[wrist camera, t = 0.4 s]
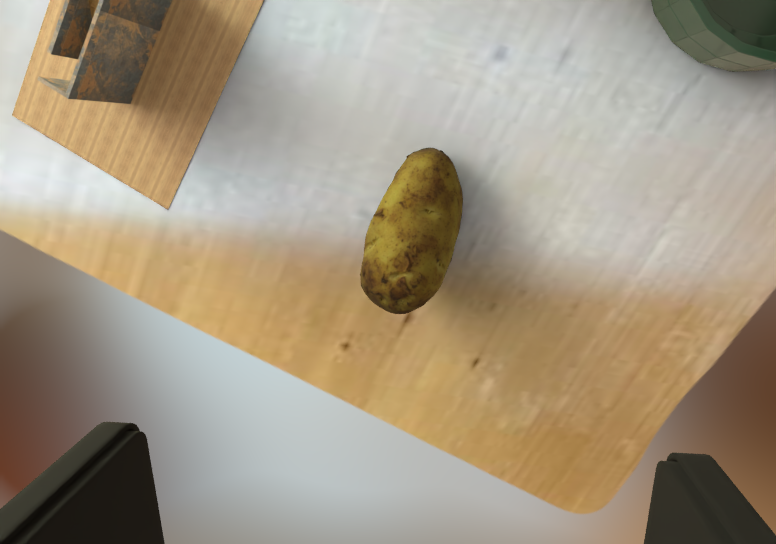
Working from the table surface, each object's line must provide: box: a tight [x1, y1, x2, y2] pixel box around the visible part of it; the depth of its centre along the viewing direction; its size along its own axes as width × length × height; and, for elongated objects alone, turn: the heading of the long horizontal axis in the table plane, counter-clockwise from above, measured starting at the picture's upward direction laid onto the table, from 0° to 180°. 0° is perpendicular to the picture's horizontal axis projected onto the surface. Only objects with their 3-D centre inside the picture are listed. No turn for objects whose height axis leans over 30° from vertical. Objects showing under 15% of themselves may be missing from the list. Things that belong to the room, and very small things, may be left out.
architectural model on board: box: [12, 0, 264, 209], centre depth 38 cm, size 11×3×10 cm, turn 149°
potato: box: [360, 148, 463, 314], centre depth 41 cm, size 8×13×8 cm, turn 146°
